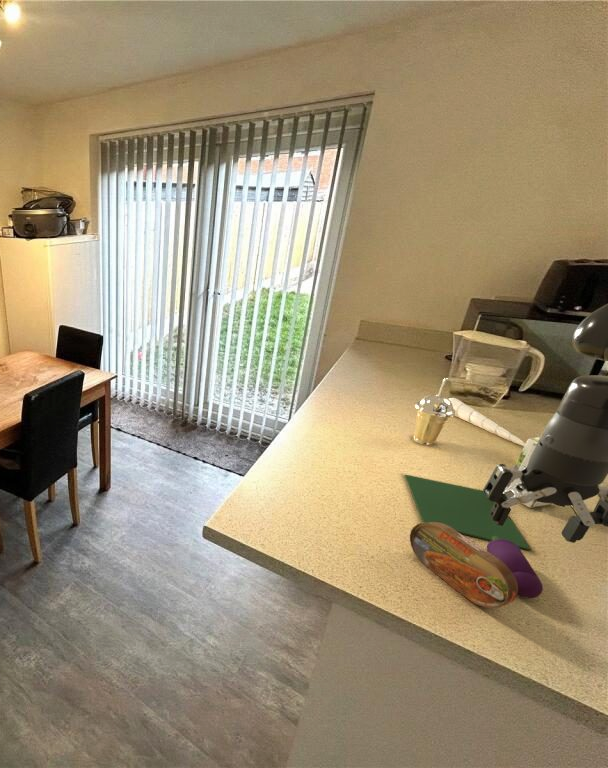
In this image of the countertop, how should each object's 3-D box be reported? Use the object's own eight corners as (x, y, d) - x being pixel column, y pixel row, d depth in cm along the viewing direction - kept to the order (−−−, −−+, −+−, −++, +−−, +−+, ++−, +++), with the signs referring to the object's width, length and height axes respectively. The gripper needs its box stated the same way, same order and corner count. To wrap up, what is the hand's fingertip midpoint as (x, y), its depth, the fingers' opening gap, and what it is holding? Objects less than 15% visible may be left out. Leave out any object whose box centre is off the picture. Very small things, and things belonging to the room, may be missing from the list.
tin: (403, 548, 74) (416, 513, 71) (416, 545, 75) (430, 510, 71) (493, 621, 60) (515, 582, 57) (509, 616, 61) (531, 577, 58)
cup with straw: (420, 431, 113) (443, 367, 105) (453, 447, 105) (480, 379, 97) (396, 435, 111) (418, 370, 104) (428, 452, 103) (454, 383, 95)
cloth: (491, 494, 88) (492, 492, 88) (529, 550, 73) (530, 549, 73) (404, 475, 94) (405, 474, 94) (423, 524, 79) (424, 523, 79)
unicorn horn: (516, 450, 103) (524, 435, 101) (438, 410, 125) (443, 397, 123) (533, 449, 104) (541, 434, 102) (451, 410, 125) (457, 396, 124)
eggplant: (506, 550, 73) (516, 532, 71) (541, 608, 62) (553, 588, 61) (476, 543, 75) (485, 525, 73) (505, 597, 64) (515, 578, 62)
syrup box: (520, 488, 89) (548, 433, 83) (552, 506, 84) (584, 448, 78) (500, 492, 88) (527, 436, 83) (531, 509, 83) (562, 451, 77)
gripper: (630, 444, 58) (578, 529, 64) (503, 424, 64) (467, 503, 70) (669, 471, 52) (607, 562, 58) (524, 446, 58) (482, 531, 64)
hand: (530, 530), depth 64 cm, fingers open, 8 cm apart
